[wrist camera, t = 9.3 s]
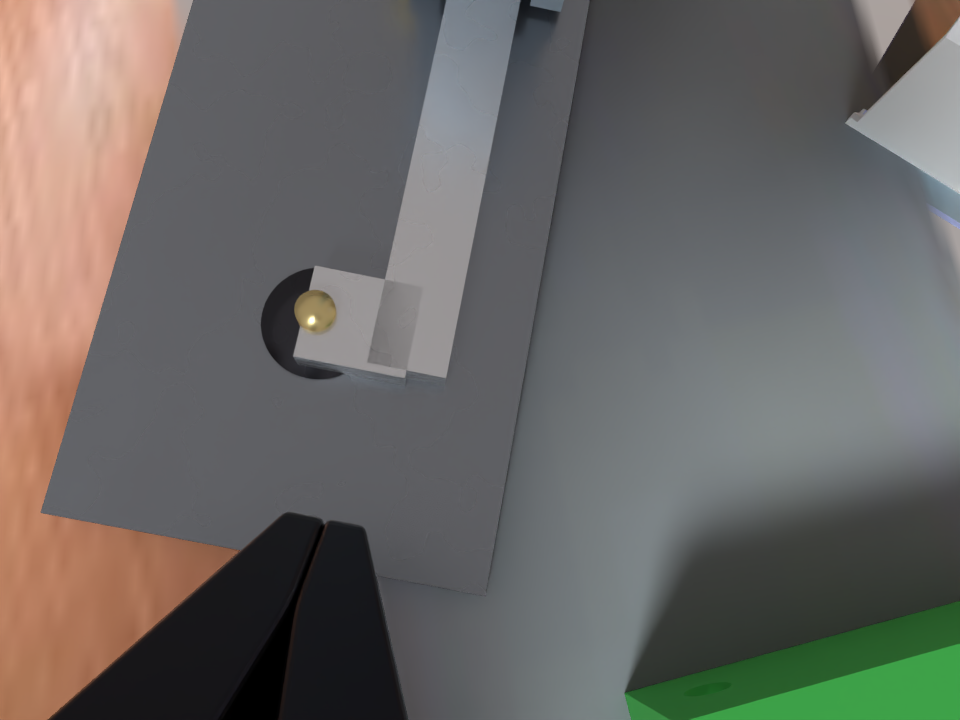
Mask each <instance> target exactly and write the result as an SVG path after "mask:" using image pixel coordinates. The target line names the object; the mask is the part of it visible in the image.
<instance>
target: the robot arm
mask: <svg viewBox="0 0 960 720" xmlns="http://www.w3.org/2000/svg"><path fill="white" fill-rule="evenodd" d="M48 720H408V716H407V711H406V707H405V702H404V698H403V693H402V689H401V684H400V680H399V675H398V671H397V666H396V662H395V657H394V653H393V648H392V644H391V640H390V635H389V631H388V626H387V622H386V617H385V613H384V608H383V604H382V599H381V595H380V590H379V586H378V581H377V577H376V572H375V568H374V563H373V559H372V554H371V550H370V545H369V541H368V536H367V532H366V530H365V528H364V527H363V526H361V525H357V524H352V523H347V522H342V521H336V520H329V521H327V522H326V523H325V524H324V522H323V520H322V519H321V518H319V517H315V516H310V515H305V514H300V513H294V512H286V513H284V514H282V515H281V516H279V517H278V518H277V519H276V520H275V521H274V522H273V523H271V524H270V525H269V526H268V527H267V528H266V529H265V530H263V531H262V532H261V533H260V534H259V535H258V536H257V537H255V538H254V539H253V540H252V541H251V542H250V543H249V544H247V545H246V546H245V547H244V548H243V549H242V550H241V551H240V552H238V553H237V554H236V555H235V556H234V557H233V558H232V559H230V560H229V561H228V562H227V563H226V564H225V565H224V566H222V567H221V568H220V569H219V570H218V571H217V572H216V573H214V574H213V575H212V576H211V577H210V578H209V579H208V580H206V581H205V582H204V583H203V584H202V585H201V586H200V587H198V588H197V589H196V590H195V591H194V592H193V593H192V594H190V595H189V596H188V597H187V598H186V599H185V600H184V601H182V602H181V603H180V604H179V605H178V606H177V607H176V608H174V609H173V610H172V611H171V612H170V613H169V614H168V615H166V616H165V617H164V618H163V619H162V620H161V621H160V622H158V623H157V624H156V625H155V626H154V627H153V628H152V629H150V630H149V631H148V632H147V633H146V634H145V635H144V636H142V637H141V638H140V639H139V640H138V641H137V642H136V643H134V644H133V645H132V646H131V647H130V648H129V649H128V650H126V651H125V652H124V653H123V654H122V655H121V656H120V657H118V658H117V659H116V660H115V661H114V662H113V663H112V664H110V665H109V666H108V667H107V668H106V669H105V670H104V671H103V672H101V673H100V674H99V675H98V676H97V677H96V678H95V679H93V680H92V681H91V682H90V683H89V684H88V685H87V686H85V687H84V688H83V689H82V690H81V691H80V692H79V693H77V694H76V695H75V696H74V697H73V698H72V699H71V700H69V701H68V702H67V703H66V704H65V705H64V706H63V707H61V708H60V709H59V710H58V711H57V712H56V713H55V714H53V715H52V716H51V717H50V718H49V719H48Z"/></svg>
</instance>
